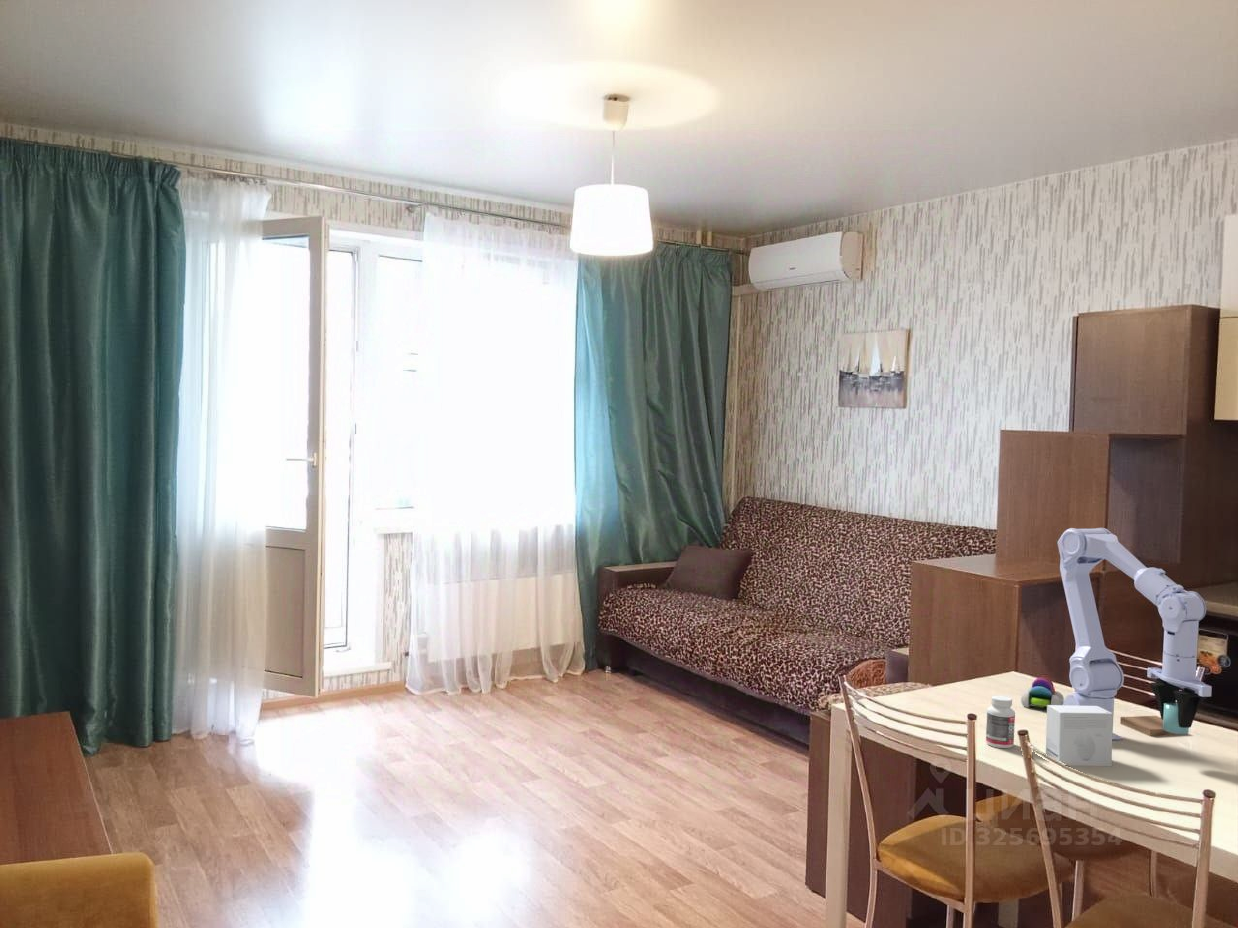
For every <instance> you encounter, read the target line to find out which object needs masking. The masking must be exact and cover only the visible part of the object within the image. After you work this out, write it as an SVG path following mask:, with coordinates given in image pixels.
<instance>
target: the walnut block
mask: <svg viewBox="0 0 1238 928" xmlns="http://www.w3.org/2000/svg"><path fill="white" fill-rule="evenodd" d="M1119 719H1120V721H1119V722H1120V723H1119V724H1120V725H1123V726H1124V727H1127V728H1130V729H1132V730H1135V731H1136V732H1139V733H1140V734H1144V735H1146V736H1149V737H1160V736H1161V737H1162V736H1175V735H1176V736H1179V735H1180V736H1181V735H1183V734H1175V733H1170V732H1167V731H1165V730H1163V720H1162V719H1161V716H1157V715H1143V716H1142V715H1141V716H1139V715H1138V716H1136V715H1135V716H1120V718H1119Z"/></svg>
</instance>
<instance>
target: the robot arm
mask: <svg viewBox="0 0 1238 928" xmlns="http://www.w3.org/2000/svg"><path fill="white" fill-rule="evenodd" d="M1057 547H1058V551H1059V555H1060V560H1059V561H1060V564H1059V571H1060V575H1061V580H1062V585H1063V589H1064V594H1065V598H1066V603H1067V608H1068V612H1069V613H1068V614H1069V618H1070V622H1071V626H1072V633H1073V635H1074V640H1075V641H1074V642H1075V646H1076V650H1075V651H1074V652H1073V654H1072V655H1071V656H1070V658H1069V659H1068V661H1069V666H1070V668H1069V673H1068V674H1069V682H1070V685H1071V686H1072V688H1073V689H1074V693H1073V694H1072V693H1071V694H1068V695H1066V696H1065V697H1064V702H1063V705H1069V706H1099V707H1101V708H1103V709H1105V710H1107V711H1109V712H1111V713H1113V717H1114V715H1115V714H1114V711H1115V696H1116V695H1117V693H1118V690H1119V689H1122V686H1123V685H1124V681H1125V676H1124V671H1123V669H1122V668H1121V666H1120V665H1119V663H1118V660H1117V657H1116V654H1115V653H1113V651H1111V649H1109V648H1108V647H1107V646H1106V644H1105V641H1104V635H1103V632H1102V626H1101V623H1100V618H1099V614H1098V610H1097V606H1096V600H1095V595H1094V592H1093V587H1092V583H1091V581H1092V580H1091V577H1090V573H1091V572H1092V571H1093V569H1094V567H1096V565H1099V563H1100V562H1102V561H1104V560H1106V561H1107V562H1109V563H1111V564H1112V565H1113V566H1114V567H1116V568H1117V569H1118V570H1120V571H1121V572H1122V573H1124V574H1126V575H1127V576H1128V577H1129V578H1131V579H1132V580H1134V582H1133V583H1134V588H1135V589H1136V590H1137V591H1138V592H1139V593H1141V594H1142V596H1144V597H1145V598H1146V599H1147V600H1149V601H1150V602H1151V603H1152V604H1153V605H1154V606H1156V607H1157V610H1158V613H1159V616H1160V617H1161V620H1162V627H1163V630H1164V631H1163V646H1162V647H1163V648H1162V650H1163V651H1162V663H1161V664H1162V665H1161V666H1162V667H1161V668H1159V667H1147V672H1146V673H1147V678H1149V679H1154V680H1155V681H1153V682H1152V681H1151V682H1149V683H1150V684H1149V686H1150V688H1151V689H1150V690H1152V692H1153V694H1154V696H1155V700H1156V701H1157V706H1158V710H1159V714H1160V718H1161V719H1162V720H1163V714H1164V703H1165V702H1176V703H1177V705H1178V722H1179V727H1182V728H1191V727H1192V725H1193V723H1194V719H1195V717H1196V715H1197V711H1198V710H1199V708H1200V707H1201V705H1202V703H1204V701H1205V700H1206V699H1207V697H1212V687H1213V686H1212V685H1210V684H1206V683H1205V682H1203V681H1201V680H1200V677H1199V676H1197V661H1198V660H1197V658H1198V641H1199V638H1198V637H1199V625H1200V624H1199V622H1200V621H1201V620H1203V619H1204V618H1205V616H1206V613H1207V604H1206V602H1205V600H1204V599H1203V597H1202V595H1200V594H1199V593H1198V592H1196V591H1193V590H1192V591H1187V590H1185V589H1184V586H1182V585H1181V584H1177V583H1176V582H1174V580H1172V579H1171V578H1170V577H1168V576H1167V575H1166V571H1165V570H1163V568H1157V567H1146V565H1144V564H1143V563H1142V561H1140V560H1139V559H1138V558H1137V557H1136V556H1135V555H1134V554H1132V553H1131V552H1130V551H1129V550H1128V549H1127V548H1126V547H1125V546H1124V545H1123V544H1122V543H1120V541H1119V538H1118V536H1117V535H1115V534H1114V533H1112V532H1111V530H1109V529H1107V528H1106V527H1105V528H1104V527H1096V528H1074V527H1070V528H1068V529H1066V530H1064V531H1063V533H1062V534H1061V536H1060V537H1059V539H1058V540H1057ZM1091 661H1093V662H1091ZM1182 689H1183V690H1182ZM1122 739H1123V737H1122V736H1121V735H1118V734H1116V733H1114V726H1113V727H1112V741H1114V740H1115V741H1116V740H1119V741H1120V740H1122Z"/></svg>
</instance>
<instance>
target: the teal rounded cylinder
mask: <svg viewBox="0 0 1238 928" xmlns="http://www.w3.org/2000/svg"><path fill="white" fill-rule="evenodd" d="M1189 728H1190V727H1189ZM1189 728H1182V727H1179V722H1178V705H1177V701H1176V702H1165V703H1164V714H1163V730H1165V731H1167V732H1170V733H1175V734H1182V735H1187V734H1189V731H1190V730H1189Z"/></svg>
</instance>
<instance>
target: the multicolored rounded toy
mask: <svg viewBox="0 0 1238 928" xmlns="http://www.w3.org/2000/svg"><path fill="white" fill-rule="evenodd" d="M1064 699H1065V697H1064V695H1063V694H1062V693H1061V692H1059V691H1057V690H1056V689H1055V687H1054V684H1053V681H1052V680H1051V679H1050V678H1049V677H1046V676H1039V677H1037V678H1035V679H1034V681H1032V683H1031V686H1030V687H1028V688H1027V689H1025V691H1024V692H1023V693H1022V694H1021V697H1020V703H1021V705H1022V706H1023V707H1025V708H1027V709H1030V707H1031V705H1035V706H1040V707H1047V705H1063V703H1064Z"/></svg>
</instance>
